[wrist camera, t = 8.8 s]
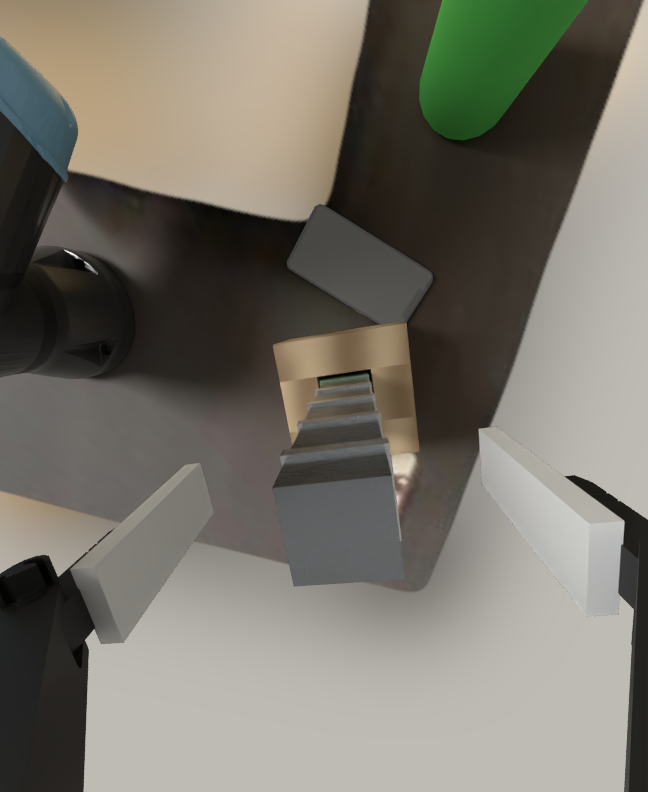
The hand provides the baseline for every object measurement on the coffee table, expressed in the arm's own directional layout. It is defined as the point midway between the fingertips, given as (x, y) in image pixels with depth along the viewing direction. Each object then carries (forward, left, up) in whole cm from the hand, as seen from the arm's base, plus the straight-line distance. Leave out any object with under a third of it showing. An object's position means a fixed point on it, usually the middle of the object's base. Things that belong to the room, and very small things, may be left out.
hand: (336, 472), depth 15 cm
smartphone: (+3, +12, -25) cm, 27 cm away
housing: (0, 0, -24) cm, 24 cm away
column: (0, 0, -18) cm, 18 cm away
